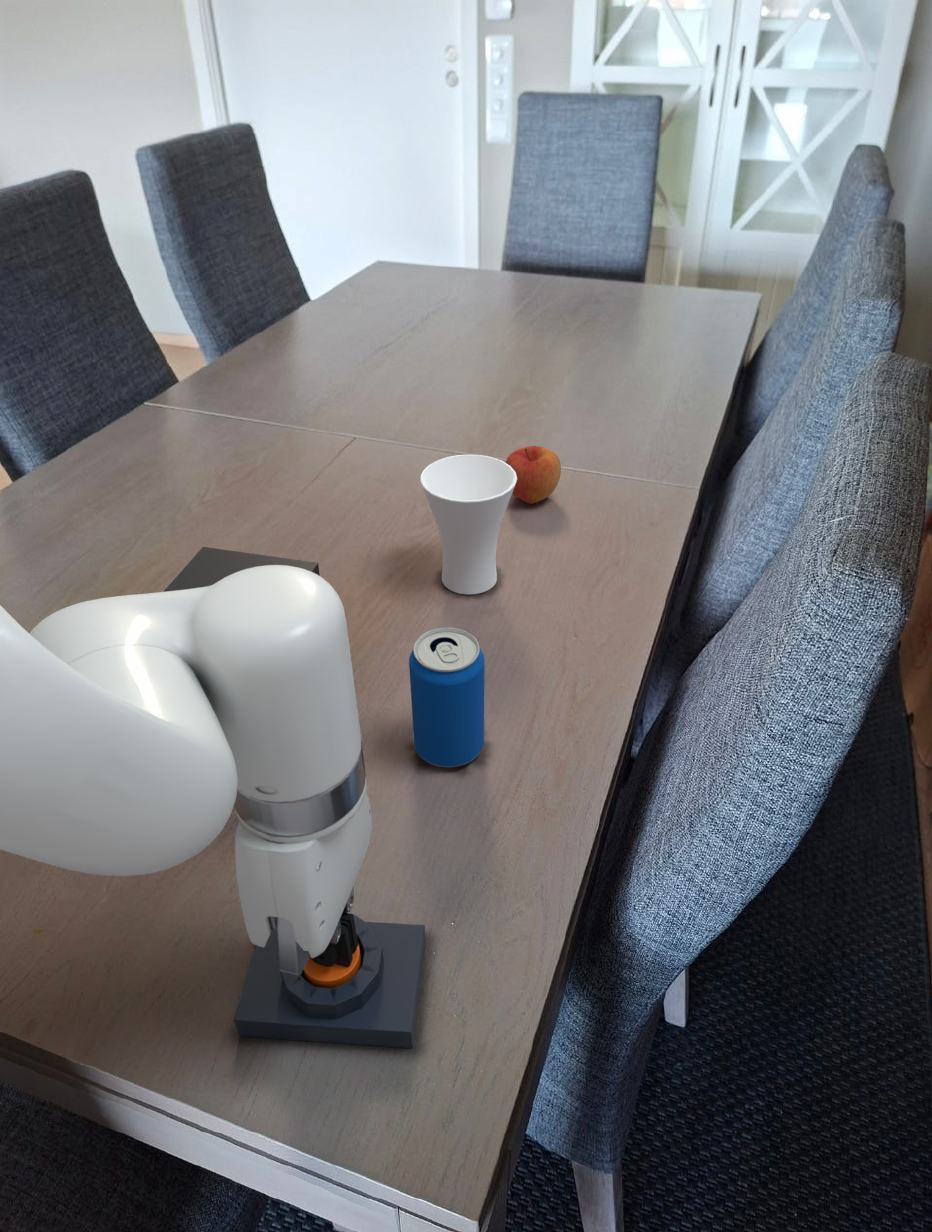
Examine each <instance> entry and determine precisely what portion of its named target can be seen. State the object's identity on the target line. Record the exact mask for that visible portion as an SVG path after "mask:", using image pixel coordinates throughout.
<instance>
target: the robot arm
mask: <svg viewBox="0 0 932 1232" xmlns="http://www.w3.org/2000/svg"><path fill="white" fill-rule="evenodd" d="M348 631H349V630H348V623H347V617H346V613H345V607H344V604H343V601H342V600H341V598H340V596H339V594H338V593H337V591H336V590H335V589H334V587H333V586H332V585H331V584H330V583H329V582H328V581H327V580H325V579H324V578H323V576H321V575H320V576H319V575H317V574H315V573H313V572H311V571H308V570H305V569H302V568H298V567H292V566H286V565H265V566H257V567H253V568H248V569H245V570H242V571H239V572H236V573H233V574H231V575H229V576H227V577H225V578H223V579H222V580H220V581H218V582H217V583H215V584H213V585H211V586H207V587H200V588H193V589H186V590H177V591H167V592H163V591H159V592H158V591H157V592H149V593H138V594H137V593H136V594H127V595H126V594H125V595H116V596H108V597H101V598H96V599H90V600H86V601H81V602H78V603H74V604H72V605H71V604H70V605H69V606H66V607H63V608H61V609H58V610H56V611H54V612H53V613H51V614H49V615H48V616H46V617H45V618H43V619H42V620H41V621H40V622H38V623H37V624H36V625H35V626H34V627H33V628H32V629H31V631H30V632H28V630H26V629H25V628H24V627H23V626H22V625H20V623H19V622H18V621H17V620H16V619H15V618H14V617H13V616H12V615H11V614H10V613H9V612H8V611H7V610H6V609H5V608H4V607H3V606H2V605H1V604H0V851H2V852H3V851H4V852H6V853H9V854H13V855H16V856H19V857H22V858H26V859H29V860H33V861H36V862H39V863H41V864H46V865H49V866H53V867H57V868H58V869H64V870H67V871H73V872H78V873H82V874H87V875H97V876H102V877H134V876H143V875H151V874H154V873H158V872H163V871H166V870H169V869H171V868H174V867H176V866H179V865H181V864H183V863H186V862H187V861H189V860H190V859H192V858H194V857H196V856H197V855H199V854H201V852H203V851H204V850H205V849H206V848H207V847H208V846H209V845H211V844H212V843H213V842H214V841H215V839H216V838H217V837H218V836H219V835H220V834H221V833H222V832H223V829H224V828H225V826H226V824H227V823H228V821H229V819H230V817H231V816H232V813H233V809H234V812H235V814H236V816H237V819H238V823H237V825H236V828H235V833H234V864H235V875H236V876H235V877H236V884H237V890H238V896H239V902H240V907H241V913H242V918H243V922H244V926H245V929H246V933H247V936H248V938H249V941H250V942H251V944H252V945H254V946H256V945H257V946H260V947H263V948H264V947H265V945H266V943H267V941H268V939H269V936H270V934H271V932H272V930H273V928H274V929H277V938H278V955H279V970H280V972H284V973H289V974H293V975H297V976H300V975H301V973H302V971H303V969H304V968H305V966H306V964H307V962H308V960H309V958H311V959H312V960H313V961H314V962H315V963H317V964H319V965H322V966H326V967H332V966H333V965H334V964H336V965H340V966H345V967H350V965H351V962H352V960H353V956H352V954H353V953H355V952H356V949H357V947H358V941H357V934H356V928H355V922H354V916H353V914H354V913H350V912H351V911H352V908H353V906H354V902H355V890H354V889H355V888H354V886H355V884H356V882H357V878H358V876H359V873H360V871H361V869H362V866H363V863H364V860H365V858H366V855H367V853H368V850H369V847H370V844H371V840H372V836H373V835H372V834H373V820H372V811H371V803H370V798H369V793H368V788H367V787H368V786H367V785H368V784H367V783H368V782H367V781H368V780H367V774H366V765H365V757H364V750H363V749H364V748H363V742H362V734H361V726H360V718H359V711H358V703H357V693H356V686H355V678H354V670H353V664H352V654H351V647H350V639H349V632H348Z"/></svg>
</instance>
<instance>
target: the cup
mask: <svg viewBox="0 0 932 1232" xmlns="http://www.w3.org/2000/svg"><path fill="white" fill-rule="evenodd" d="M419 480H420V485H421V488H422V490H423V493H424V496H425V497H426V500H427V503H428V504H429V507H430V510H431V513H432V515H433V518H434V521H435V523H436V526H437V530H438V534H439V538H440V542H441V551H442V570H441V582H442V584H443V586H444V587H445V588H446V589H448V590H450V591H451V592H454V593H456V594H460V595H477V594H481V593H484V592H487V591H489V590H491V589H492V588H493V587H495V585H496V584H497V581H498V571H497V562H496V556H497V546H498V539H499V534H500V529H501V524H502V522H503V520H504V516H505V514H506V511H507V508H508V505H509V503H510V500H511V498H512V495H513V493H512V492H513V490H514V487H515V485H516V481H517V476H516V472H515V471H514V470H513V469H512V467H511V466H510V465H508V464H506V461H503V460H502V459H498V458H496V457H492V456H488V455H483V454H470V453H469V454H456V455H451V456H446V457H443V458H440V459H437V460H435V461H433V462H432V463H430V464H428V465H427V466H426V467H425V468H424V469H422V473H421V474H420V479H419Z"/></svg>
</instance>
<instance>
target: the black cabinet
mask: <svg viewBox="0 0 932 1232" xmlns="http://www.w3.org/2000/svg"><path fill="white" fill-rule="evenodd" d="M265 565H286V566H292V567H298V568H302V569H305V570H308V571H311V572H313V573H315V574H317V575H319V576H320V577H321V575H320V567H319V562H314V561H307V560H302V559H301V560H300V559H293V558H286V557H279V556H272V555H266V554H259V553H258V554H257V553H250V552H243V551H237V550H230V549H223V548H215V547H209V546H201V548H200V549H199V551H198V552H197V553H196V554H195V555H194V556H193V557H192V558H191V560H190V561H188V563H187V564H186V565H185V566H184V567H183V569H182V570H181V571H180V572H179V573H178V574H177V575H176V577H174V578H173V580H172V581H171V582H170V583H169V584H168V586H167V587H166V588H165V589H164V590H163V591H162V592H167V591H177V590H186V589H193V588H200V587H207V586H211V585H213V584H215V583H217V582H218V581H220V580H222V579H223V578H225V577H227V576H229V575H231V574H233V573H236V572H239V571H242V570H245V569H248V568H253V567H257V566H265Z"/></svg>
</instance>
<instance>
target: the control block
mask: <svg viewBox="0 0 932 1232" xmlns="http://www.w3.org/2000/svg"><path fill="white" fill-rule="evenodd" d="M352 914H353V916H354V922H355V928H356V934H357V941H358V945H359V949H360V956H361V968H360V970H359V971H358V972H357V973H356V975H355V976H354V977H353V978H352V979H351V981H349V982H346V983H344V984H342V985H339V986H337V987H335V988H321V987H314V986H313V985H312V984H310V983H309V982H307V981H306V979H305V976H304V971H302V973H301V975H300V976H297V975H293V974H289V973H284V972H280V970H279V955H278V938H277V929H274V928H273V930H272V932H271V934H270V936H269V939H268V941H267V943H266V945H265V947H264V948H263V947H260V946H257V945H254V950H253V954H252V957H251V959H250V960H251V961H250V964H249V968H248V970H247V974H246V977H245V980H244V981H245V982H244V985H243V988H242V991H241V995H240V999H239V1002H238V1005H237V1009H236V1013H235V1016H234V1018H233V1022H234V1024H235V1027H236V1030H237V1033H238V1035H239V1037H246V1038H248V1037H249V1038H261V1039H276V1040H290V1041H304V1042H318V1043H319V1042H320V1043H331V1044H345V1045H360V1046H362V1045H363V1046H374V1047H375V1046H377V1047H389V1048H390V1047H391V1048H404V1049H413V1048H414V1042H415V1034H416V1024H417V1016H418V1008H419V1001H420V992H421V984H422V977H423V976H422V974H423V967H424V960H425V952H426V951H425V950H426V942H427V941H426V928H425V926H426V925H424V924H411V923H394V922H377V921H365V920H364V919H362V918H360V917H359V916H358V915H356V914H354V913H352Z"/></svg>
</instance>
